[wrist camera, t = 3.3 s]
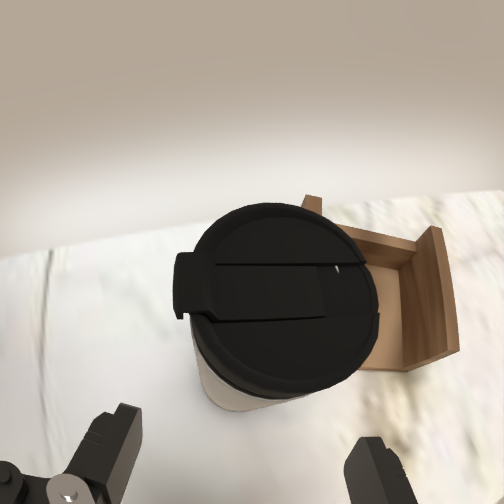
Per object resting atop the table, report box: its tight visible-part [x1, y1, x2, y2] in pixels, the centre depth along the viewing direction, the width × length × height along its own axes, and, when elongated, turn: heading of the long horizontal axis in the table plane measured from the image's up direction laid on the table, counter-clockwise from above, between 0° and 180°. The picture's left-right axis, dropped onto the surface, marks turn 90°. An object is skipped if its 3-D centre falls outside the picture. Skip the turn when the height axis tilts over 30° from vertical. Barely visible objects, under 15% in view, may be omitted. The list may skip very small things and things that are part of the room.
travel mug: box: [173, 203, 380, 412], centre depth 17 cm, size 6×7×20 cm
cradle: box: [301, 195, 460, 372], centre depth 27 cm, size 14×12×8 cm
